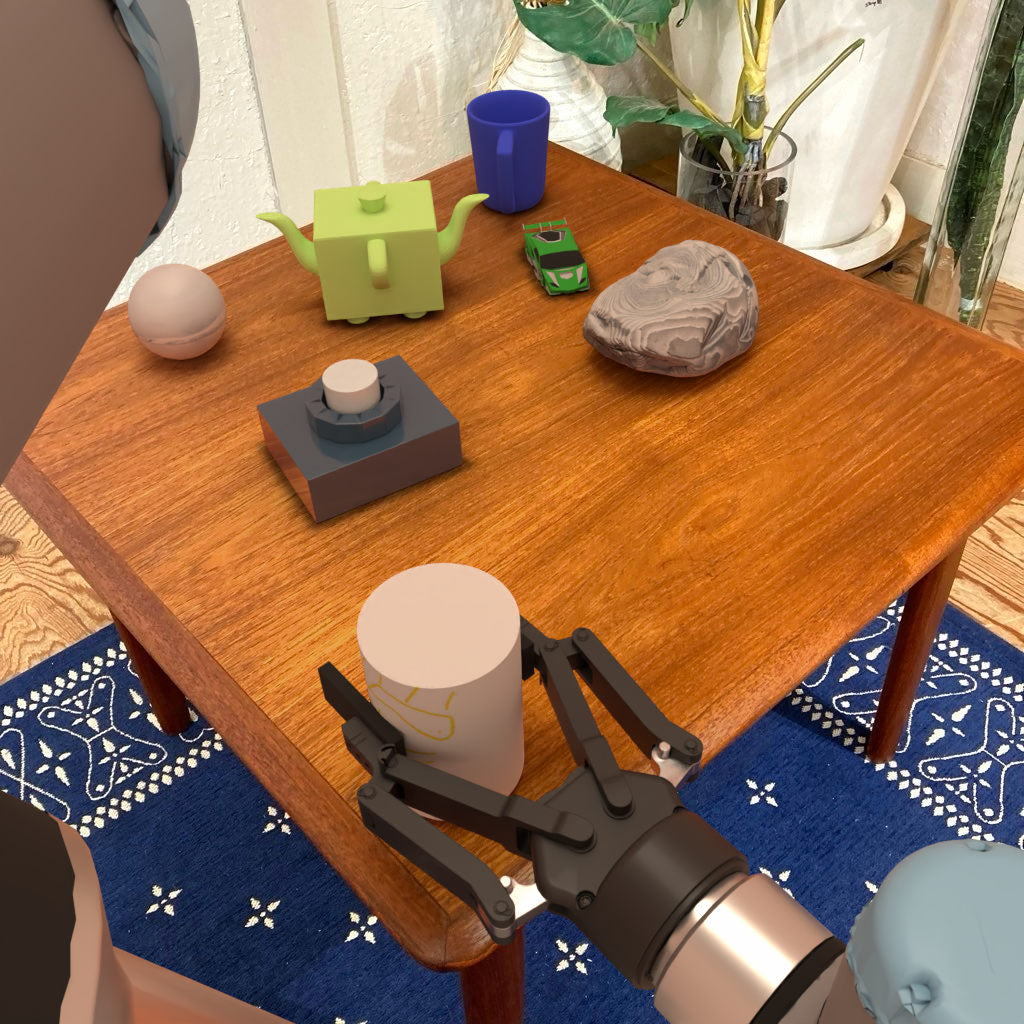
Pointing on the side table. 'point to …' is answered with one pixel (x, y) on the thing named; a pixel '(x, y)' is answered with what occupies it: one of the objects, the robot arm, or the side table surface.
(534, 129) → the mug
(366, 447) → the push button box
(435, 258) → the teapot
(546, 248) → the toy car
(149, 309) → the bath bomb
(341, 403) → the button
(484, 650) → the doodled pink cylinder
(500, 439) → the side table surface
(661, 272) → the decorative stone
